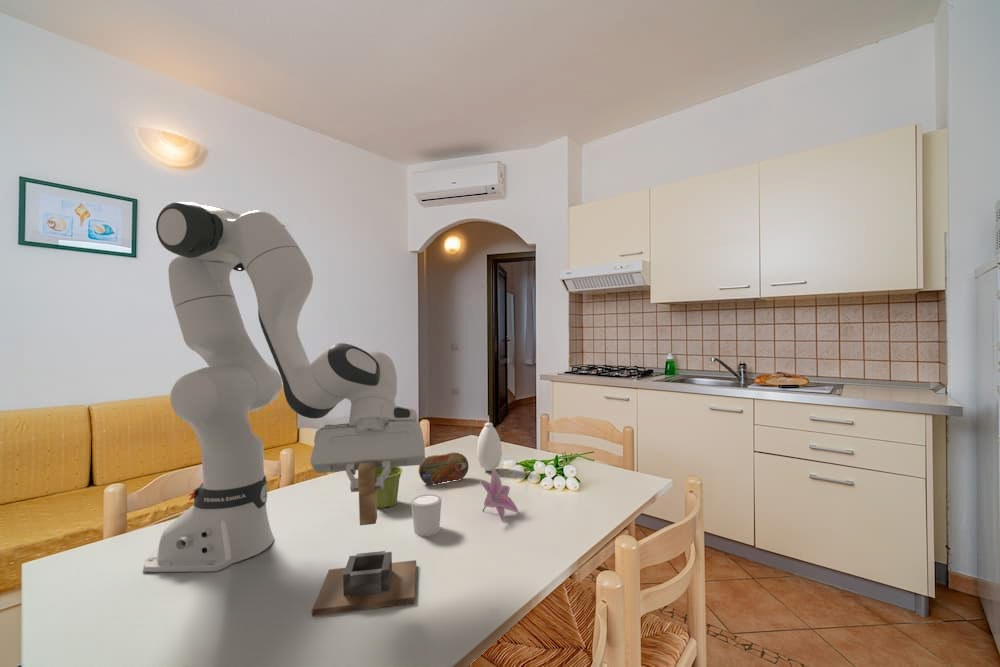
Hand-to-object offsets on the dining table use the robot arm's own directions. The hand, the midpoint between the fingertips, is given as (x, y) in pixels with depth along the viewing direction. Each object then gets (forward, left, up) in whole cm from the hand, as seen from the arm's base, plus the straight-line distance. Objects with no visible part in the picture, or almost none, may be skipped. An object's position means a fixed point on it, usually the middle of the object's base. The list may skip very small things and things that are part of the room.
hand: (367, 489), depth 76 cm
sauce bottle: (+30, +61, -18) cm, 70 cm away
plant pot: (-1, +40, -18) cm, 43 cm away
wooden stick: (0, +1, -6) cm, 6 cm away
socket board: (0, +1, -18) cm, 18 cm away
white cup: (+10, +22, -18) cm, 30 cm away
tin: (+15, +54, -18) cm, 59 cm away
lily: (+27, +27, -18) cm, 42 cm away
